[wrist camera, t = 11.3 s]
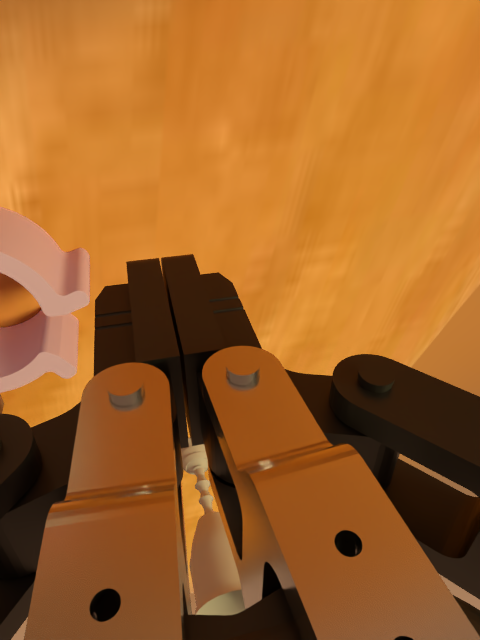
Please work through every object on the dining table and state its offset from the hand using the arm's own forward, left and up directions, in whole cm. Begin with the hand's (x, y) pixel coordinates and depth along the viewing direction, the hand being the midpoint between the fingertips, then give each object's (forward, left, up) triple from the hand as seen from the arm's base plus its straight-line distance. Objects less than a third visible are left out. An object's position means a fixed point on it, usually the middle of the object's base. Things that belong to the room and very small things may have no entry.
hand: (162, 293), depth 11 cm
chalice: (-4, +39, -27) cm, 47 cm away
